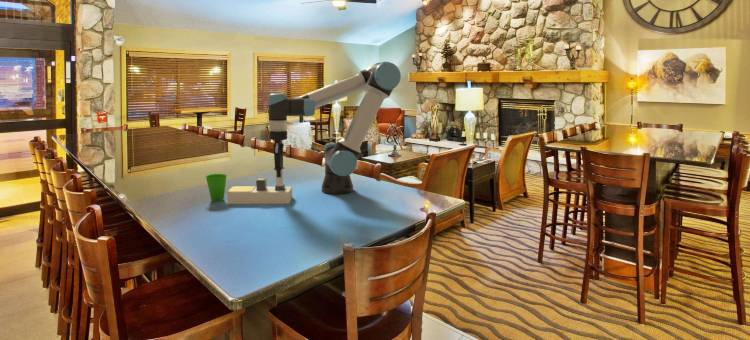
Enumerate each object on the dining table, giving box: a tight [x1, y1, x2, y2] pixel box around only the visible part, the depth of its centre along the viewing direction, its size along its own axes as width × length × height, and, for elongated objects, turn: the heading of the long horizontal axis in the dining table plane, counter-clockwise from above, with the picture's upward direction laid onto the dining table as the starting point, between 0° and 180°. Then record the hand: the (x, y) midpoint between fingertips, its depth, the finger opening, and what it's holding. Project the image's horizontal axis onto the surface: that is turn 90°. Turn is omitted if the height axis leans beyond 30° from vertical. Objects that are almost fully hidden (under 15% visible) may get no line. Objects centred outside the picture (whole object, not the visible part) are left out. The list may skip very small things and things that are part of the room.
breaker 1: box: [255, 178, 267, 191], centre depth 206 cm, size 4×4×6 cm
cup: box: [204, 173, 228, 203], centre depth 207 cm, size 9×9×11 cm
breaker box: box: [226, 185, 293, 205], centre depth 207 cm, size 26×11×5 cm, turn 93°
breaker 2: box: [274, 183, 286, 191], centre depth 207 cm, size 4×4×6 cm
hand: (279, 184), depth 207 cm, fingers closed
